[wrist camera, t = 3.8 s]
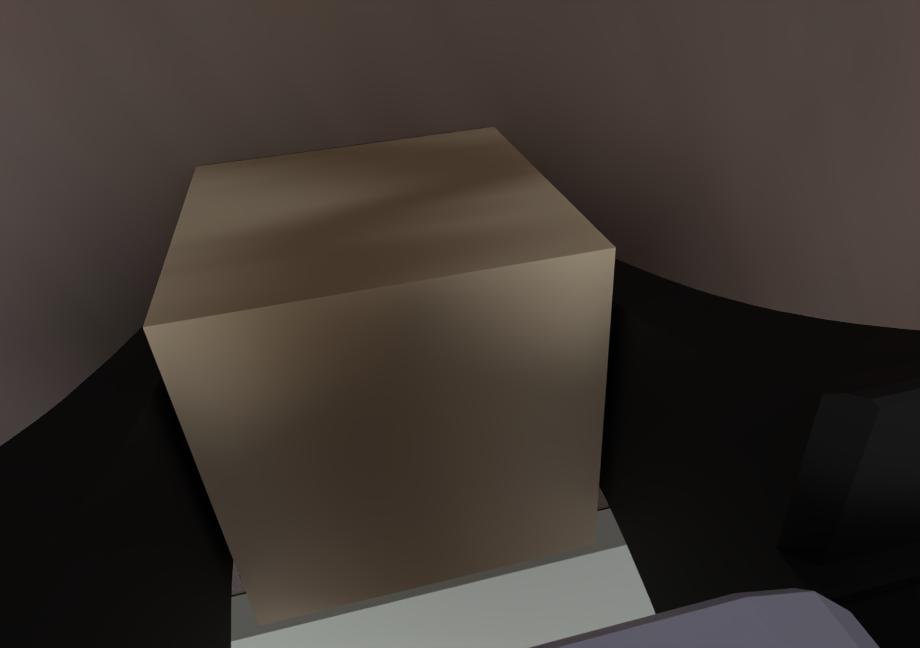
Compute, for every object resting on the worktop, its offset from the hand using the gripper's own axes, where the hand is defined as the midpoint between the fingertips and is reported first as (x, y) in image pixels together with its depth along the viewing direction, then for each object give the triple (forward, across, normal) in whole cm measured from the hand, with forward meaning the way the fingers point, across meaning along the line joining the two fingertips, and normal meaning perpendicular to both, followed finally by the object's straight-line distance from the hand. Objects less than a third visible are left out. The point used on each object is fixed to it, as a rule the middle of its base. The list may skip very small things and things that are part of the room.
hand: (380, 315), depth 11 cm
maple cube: (+1, 0, 0) cm, 1 cm away
